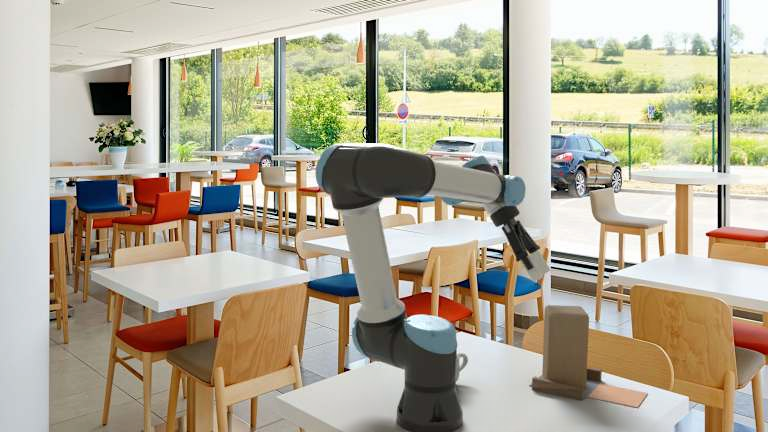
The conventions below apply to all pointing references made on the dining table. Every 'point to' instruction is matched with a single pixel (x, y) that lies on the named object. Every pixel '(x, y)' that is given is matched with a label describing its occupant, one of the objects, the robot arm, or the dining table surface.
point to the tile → (618, 395)
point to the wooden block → (565, 344)
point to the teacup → (464, 363)
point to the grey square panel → (588, 389)
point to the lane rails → (565, 385)
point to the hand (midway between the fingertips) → (542, 276)
